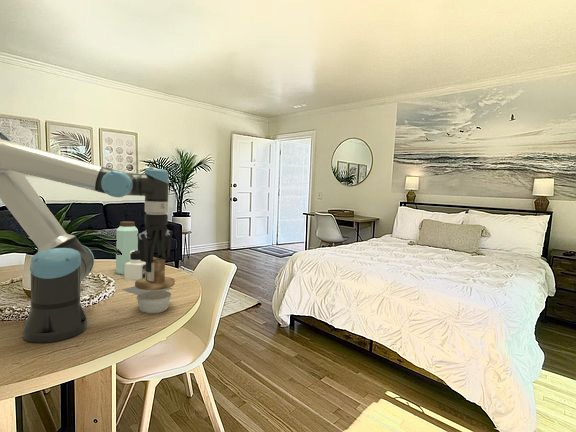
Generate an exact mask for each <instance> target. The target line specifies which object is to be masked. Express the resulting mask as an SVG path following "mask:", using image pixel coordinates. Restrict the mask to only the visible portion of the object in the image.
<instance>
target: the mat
mask: <svg viewBox="0 0 576 432" xmlns="http://www.w3.org/2000/svg"><path fill="white" fill-rule="evenodd" d="M172 289H173V287H170V288H166V289H161V290H163V291H169V290H172ZM121 291H124V292H126V293H127V292H128V293H131V294H133V295H137V296H138V295H139V294H140V293H143V292H147V291H152V290H141V289H138V288H136V287H135V285H134V286H131V287H128V288H123V289H121Z"/></svg>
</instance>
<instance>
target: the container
mask: <svg viewBox="0 0 576 432" xmlns="http://www.w3.org/2000/svg"><path fill="white" fill-rule="evenodd" d="M129 261H130V262H127V263H125V275H124V280H131V281H132V280H134V281H137V280H139V279H141V278H145V277H146V262H143V261H141V260H140V249H138V250H134V251H131V252H130V258H129Z"/></svg>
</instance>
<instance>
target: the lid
mask: <svg viewBox="0 0 576 432" xmlns="http://www.w3.org/2000/svg"><path fill="white" fill-rule="evenodd" d="M153 263H154V281H153V282H152V281H148V280H147V272H146V277H145V278H141V279H139V280H134V281H135V282H134V286H135V287H136V288H138V289H141V290H161V289H166V288H173V286H175V280H176V279H174V278H173V277H170V276H165V274H166V272H165V271H166V261H165V259H160V258H158V257H155V256H153Z"/></svg>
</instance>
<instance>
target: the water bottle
mask: <svg viewBox="0 0 576 432" xmlns="http://www.w3.org/2000/svg"><path fill="white" fill-rule="evenodd" d="M119 223H120V224H119V227H117V228H116V235H115V238H116V240H117V241H115V242H116V243H115V244H116V245H115V249H116V248H117V249H119V250H120V251H121V253H122V255H117V254H116V253H115V273H116V274H117V275H122V276H125V263H127V262H130V261H129V258H130V252H131V251H134V250H139V246H138V245H139V239H138V236H137V234H138V233H139V230H138V228H137V227H136V223H135V221H120V222H119Z"/></svg>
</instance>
